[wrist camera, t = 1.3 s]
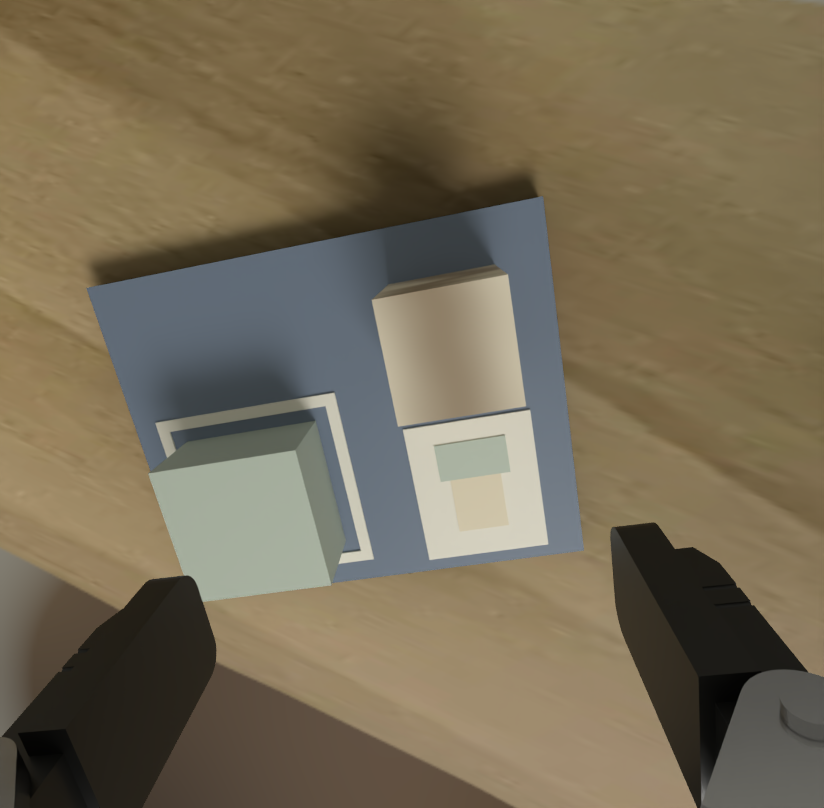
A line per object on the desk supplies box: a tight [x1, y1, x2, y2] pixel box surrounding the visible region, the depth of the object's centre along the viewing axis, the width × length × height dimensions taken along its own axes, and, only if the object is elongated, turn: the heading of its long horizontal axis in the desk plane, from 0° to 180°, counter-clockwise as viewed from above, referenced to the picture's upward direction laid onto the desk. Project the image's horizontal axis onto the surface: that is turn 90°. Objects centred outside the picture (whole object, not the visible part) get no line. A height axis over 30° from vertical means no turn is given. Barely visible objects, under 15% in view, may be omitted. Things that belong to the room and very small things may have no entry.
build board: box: [87, 196, 584, 583], centre depth 29 cm, size 22×18×1 cm
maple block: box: [372, 264, 526, 427], centre depth 24 cm, size 5×5×6 cm
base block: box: [148, 421, 346, 602], centre depth 28 cm, size 7×7×4 cm
